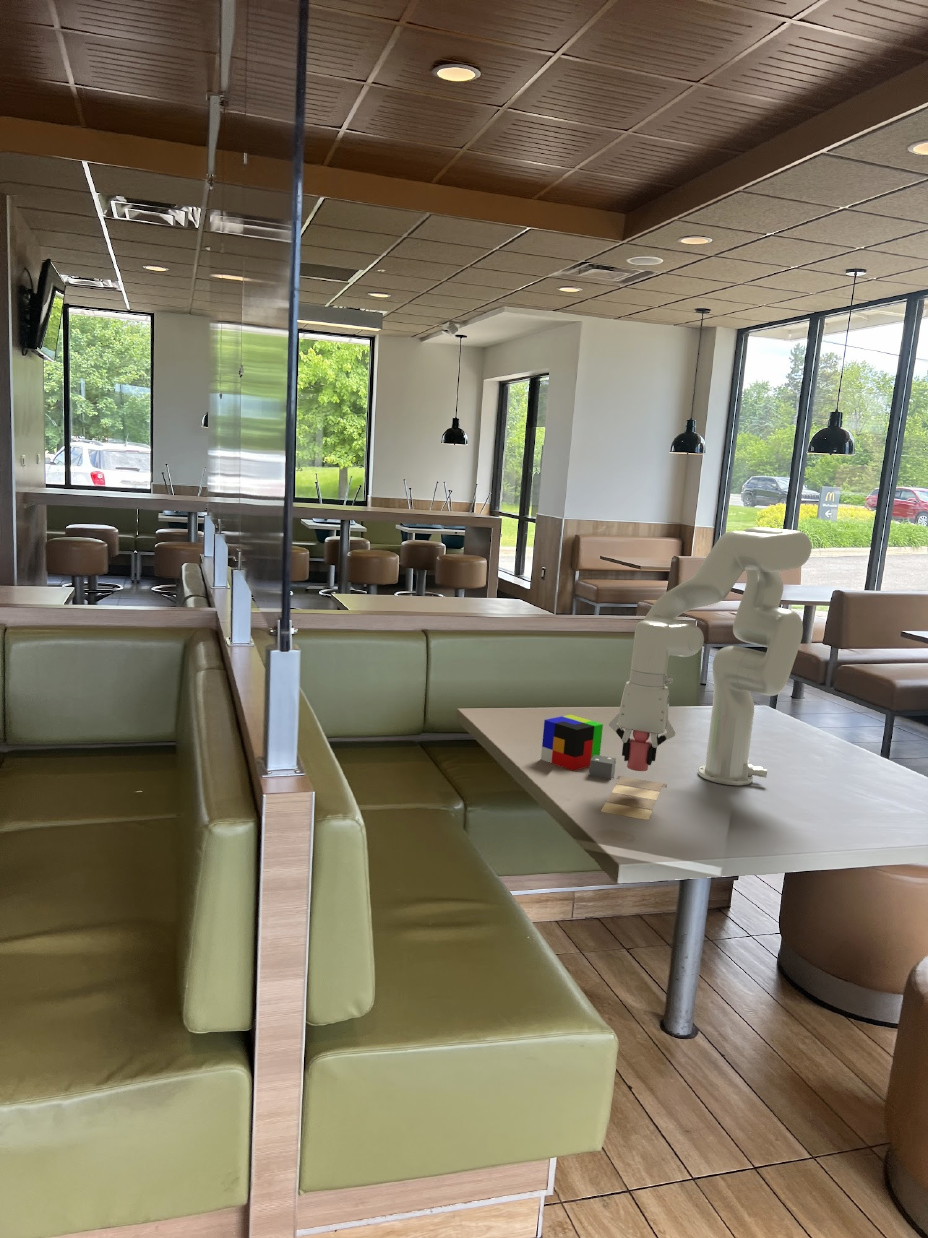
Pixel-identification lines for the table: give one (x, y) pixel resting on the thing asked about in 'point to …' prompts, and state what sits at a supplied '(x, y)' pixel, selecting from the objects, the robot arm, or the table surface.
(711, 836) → the table surface
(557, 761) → the puzzle toy
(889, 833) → the table surface
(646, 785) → the board
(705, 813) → the table surface
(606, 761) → the die
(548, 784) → the table surface
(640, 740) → the pawn
